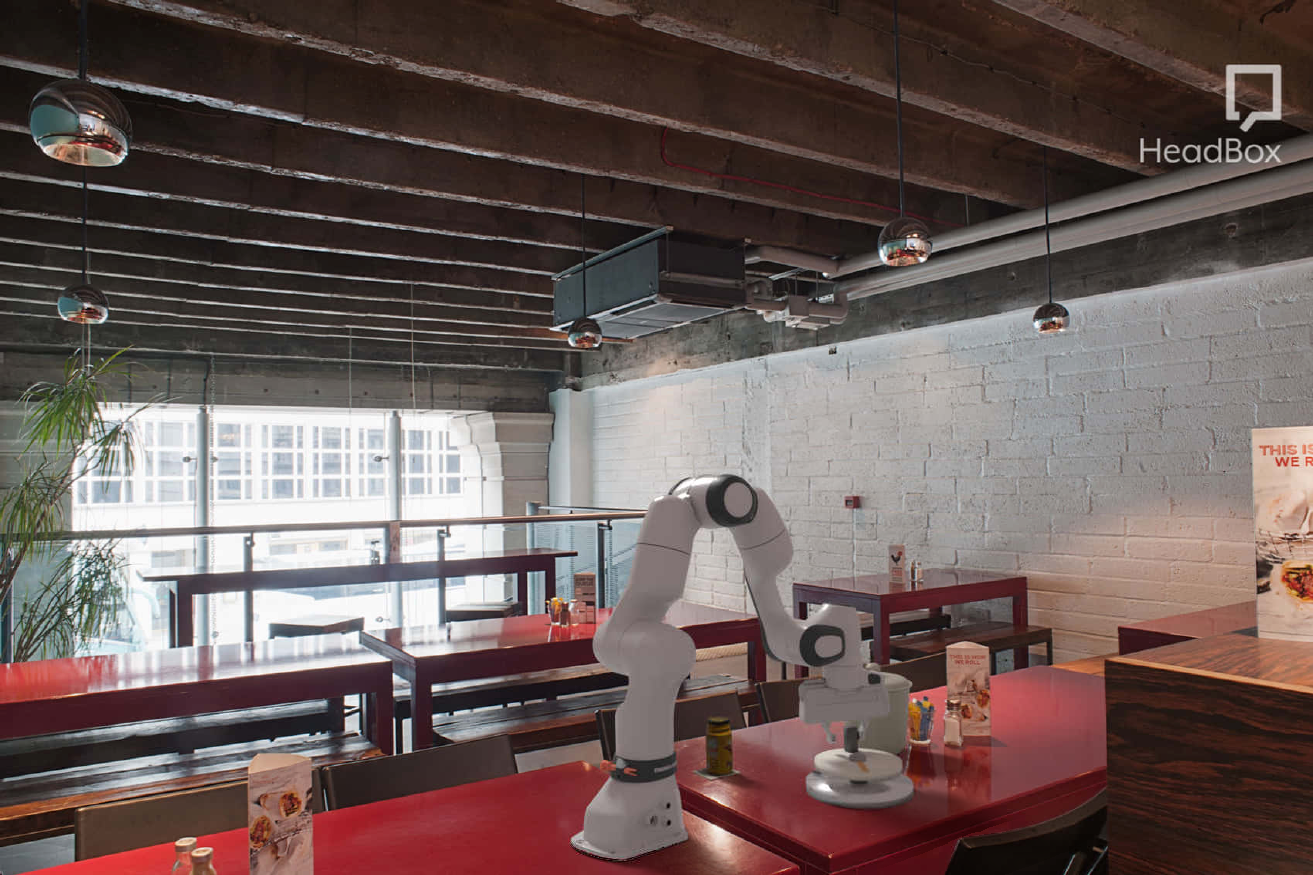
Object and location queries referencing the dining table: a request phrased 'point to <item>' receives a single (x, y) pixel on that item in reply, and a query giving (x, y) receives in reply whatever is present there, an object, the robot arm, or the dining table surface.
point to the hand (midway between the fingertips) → (846, 740)
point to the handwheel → (857, 761)
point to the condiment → (718, 749)
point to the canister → (888, 717)
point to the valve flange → (860, 791)
